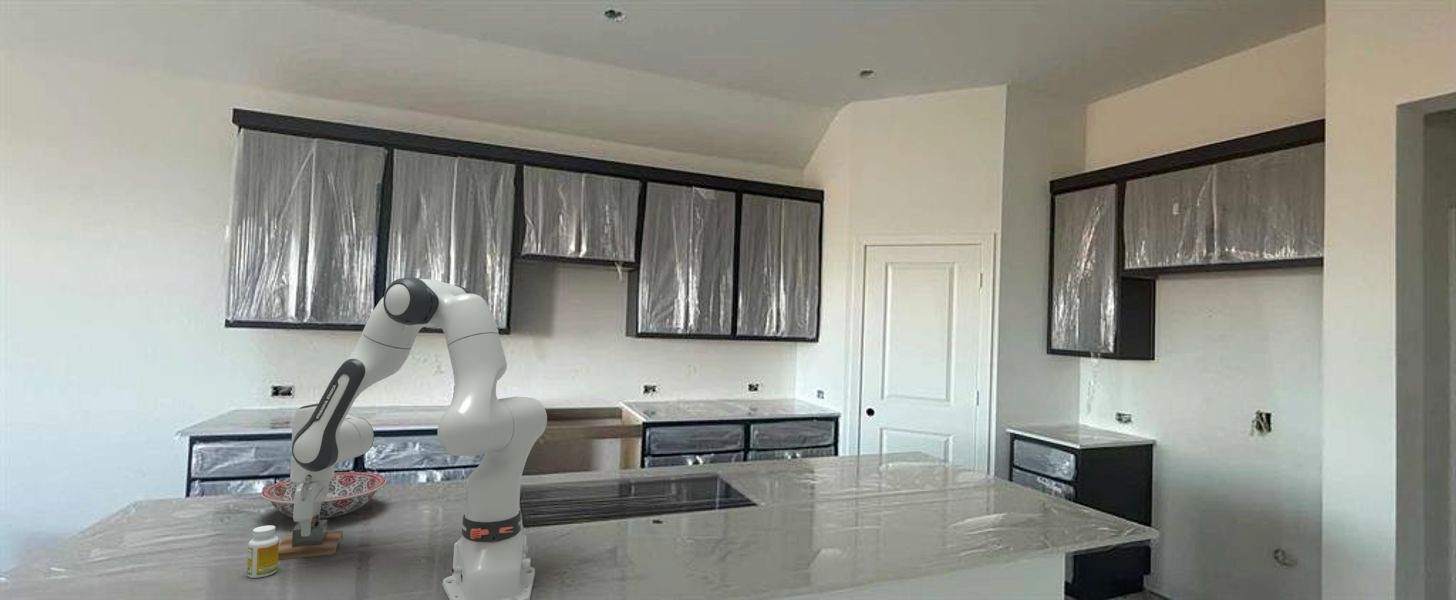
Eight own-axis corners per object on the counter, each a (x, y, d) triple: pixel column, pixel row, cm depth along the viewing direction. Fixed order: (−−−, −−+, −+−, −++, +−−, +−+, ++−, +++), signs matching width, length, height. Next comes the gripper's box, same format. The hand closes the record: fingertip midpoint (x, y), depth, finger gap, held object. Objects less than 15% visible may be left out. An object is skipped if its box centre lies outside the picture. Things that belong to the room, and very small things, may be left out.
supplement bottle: (283, 568, 140) (285, 524, 140) (266, 578, 135) (268, 532, 135) (258, 568, 140) (260, 523, 140) (240, 578, 135) (242, 532, 135)
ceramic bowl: (377, 527, 167) (378, 496, 167) (243, 538, 157) (244, 505, 157) (391, 495, 194) (392, 469, 195) (277, 503, 184) (278, 475, 184)
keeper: (334, 553, 149) (335, 526, 149) (272, 560, 144) (273, 531, 144) (342, 536, 160) (343, 510, 160) (285, 541, 155) (286, 515, 155)
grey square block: (322, 544, 150) (322, 527, 151) (291, 547, 148) (292, 530, 148) (326, 535, 156) (327, 519, 156) (297, 538, 154) (298, 521, 154)
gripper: (319, 480, 144) (317, 542, 144) (335, 459, 163) (333, 514, 163) (286, 483, 141) (283, 545, 141) (306, 461, 160) (304, 516, 160)
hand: (310, 528), depth 152 cm, fingers open, 8 cm apart
